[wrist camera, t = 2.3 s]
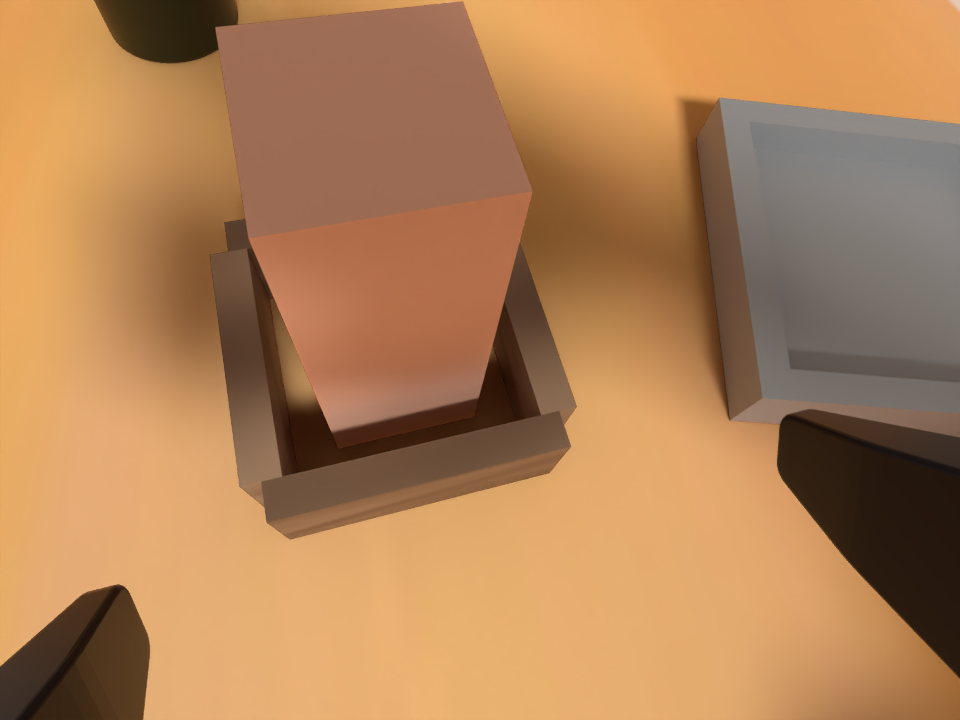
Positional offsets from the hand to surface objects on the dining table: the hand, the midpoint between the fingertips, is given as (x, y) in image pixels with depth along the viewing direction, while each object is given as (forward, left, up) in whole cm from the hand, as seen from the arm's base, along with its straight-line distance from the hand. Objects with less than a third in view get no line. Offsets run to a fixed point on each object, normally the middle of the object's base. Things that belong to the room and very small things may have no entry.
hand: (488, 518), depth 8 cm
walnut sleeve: (+8, +3, -13) cm, 16 cm away
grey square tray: (+14, -17, -14) cm, 26 cm away
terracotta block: (+8, +3, -14) cm, 16 cm away
